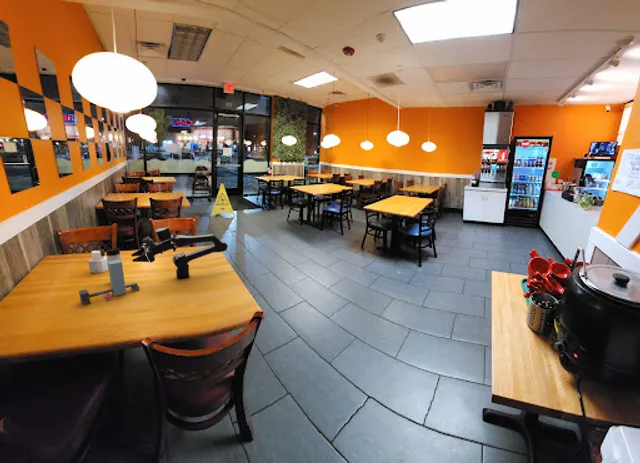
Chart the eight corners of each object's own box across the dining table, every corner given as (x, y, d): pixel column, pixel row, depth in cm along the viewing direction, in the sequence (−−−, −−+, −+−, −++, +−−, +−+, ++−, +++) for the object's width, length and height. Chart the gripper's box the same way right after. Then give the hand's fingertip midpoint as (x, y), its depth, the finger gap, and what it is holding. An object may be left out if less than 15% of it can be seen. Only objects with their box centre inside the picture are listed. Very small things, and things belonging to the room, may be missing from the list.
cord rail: (135, 285, 161) (134, 275, 160) (141, 291, 155) (140, 281, 153) (79, 300, 143) (77, 289, 142) (84, 307, 137) (82, 296, 135)
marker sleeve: (123, 289, 155) (118, 259, 150) (126, 293, 151) (121, 262, 147) (112, 292, 151) (107, 261, 146) (114, 296, 148) (110, 264, 143)
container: (98, 267, 182) (94, 248, 178) (111, 267, 183) (108, 248, 179) (89, 272, 174) (86, 252, 171) (103, 272, 175) (100, 252, 172)
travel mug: (117, 284, 161) (112, 250, 156) (107, 282, 163) (102, 249, 157) (127, 279, 167) (122, 247, 162) (117, 278, 169) (112, 246, 163)
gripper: (154, 230, 169) (124, 240, 162) (158, 239, 154) (126, 250, 147) (161, 247, 173) (133, 257, 166) (166, 256, 159) (135, 268, 151)
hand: (131, 258), depth 157 cm, fingers open, 9 cm apart
